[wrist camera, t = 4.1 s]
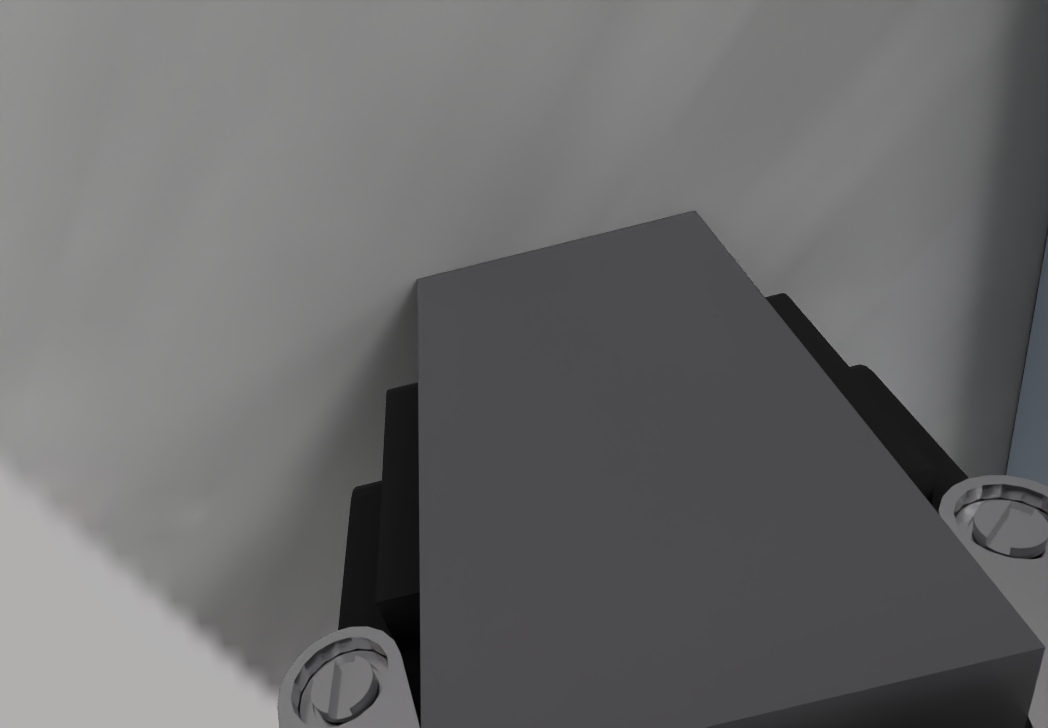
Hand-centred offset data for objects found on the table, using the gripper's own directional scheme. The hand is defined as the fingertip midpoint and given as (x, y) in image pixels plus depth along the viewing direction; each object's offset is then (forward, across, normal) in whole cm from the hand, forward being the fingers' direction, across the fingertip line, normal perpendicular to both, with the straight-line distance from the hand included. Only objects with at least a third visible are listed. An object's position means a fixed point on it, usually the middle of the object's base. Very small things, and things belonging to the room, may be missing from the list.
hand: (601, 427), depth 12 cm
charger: (+2, 0, 0) cm, 2 cm away
